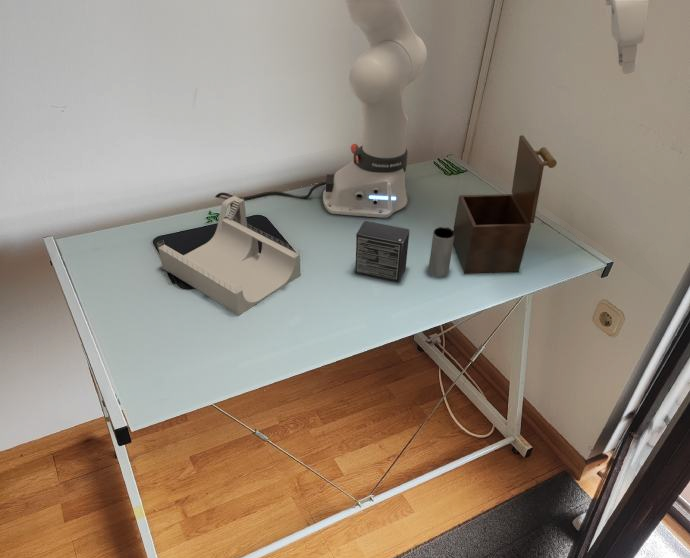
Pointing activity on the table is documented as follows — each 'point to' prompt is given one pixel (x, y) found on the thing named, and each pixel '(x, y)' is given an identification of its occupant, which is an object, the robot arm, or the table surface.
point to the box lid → (529, 176)
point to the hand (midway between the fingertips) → (626, 68)
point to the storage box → (490, 233)
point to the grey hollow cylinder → (441, 251)
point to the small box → (381, 251)
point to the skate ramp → (234, 262)
